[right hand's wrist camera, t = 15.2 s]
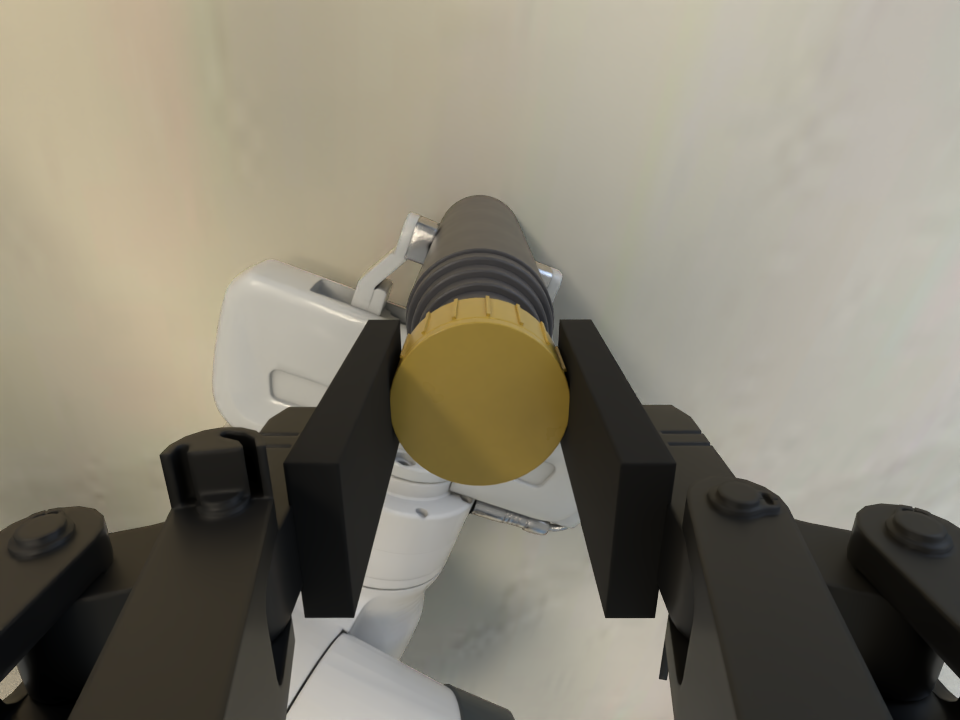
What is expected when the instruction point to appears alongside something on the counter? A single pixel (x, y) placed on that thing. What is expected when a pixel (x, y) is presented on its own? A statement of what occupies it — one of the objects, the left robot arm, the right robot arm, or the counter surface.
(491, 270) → the bottle
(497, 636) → the counter surface
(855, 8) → the counter surface
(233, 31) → the counter surface
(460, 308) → the cap
